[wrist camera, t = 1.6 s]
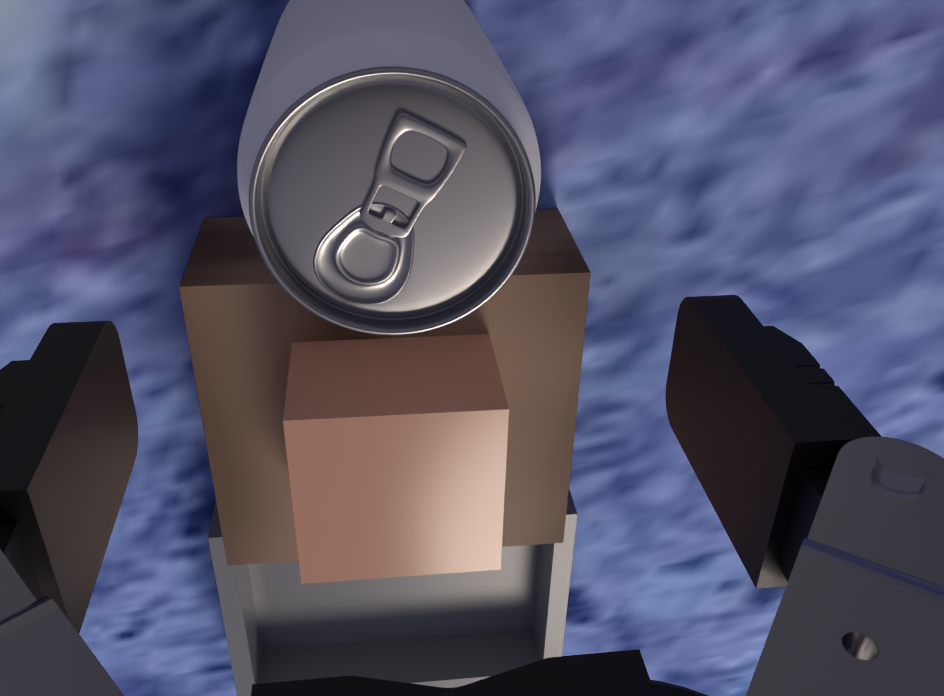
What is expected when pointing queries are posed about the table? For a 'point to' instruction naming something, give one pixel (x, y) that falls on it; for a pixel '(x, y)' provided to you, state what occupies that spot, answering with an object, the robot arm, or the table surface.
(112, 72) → the table surface
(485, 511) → the small tan cube
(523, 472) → the brown wooden block
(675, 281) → the table surface
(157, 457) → the table surface
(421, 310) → the can
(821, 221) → the table surface
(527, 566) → the box
